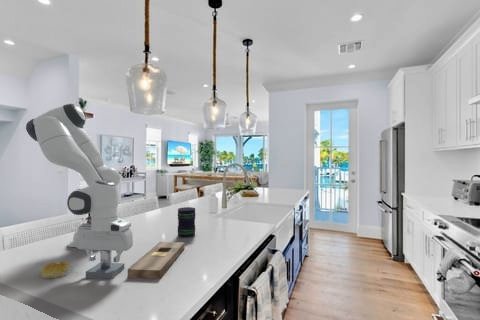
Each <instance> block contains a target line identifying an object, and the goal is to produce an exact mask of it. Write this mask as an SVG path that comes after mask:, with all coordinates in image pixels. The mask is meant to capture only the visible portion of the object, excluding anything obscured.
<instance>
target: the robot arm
mask: <svg viewBox="0 0 480 320" xmlns="http://www.w3.org/2000/svg"><path fill="white" fill-rule="evenodd" d="M85 124H86V116H85V114H84V112H83V110H82V109H81V108H80V107H79V106H78V105H76V104H73V103H67V104H64V105H62V106H59V107H56V108H53V109H50V110H47V112H44V113H42V114H41V115H38V116H37V117H36V118H35V117H34V118H32V119H30V120H28V122H27V123H26V125H25V130H26V133H27V134H28V135H29V136H30V138H31V139H32V140H34V141H35V142H38V145H39V147H40V150H41V152H42V154H43V155H44V157H45V158H46V159H47V161H49V162H50V163H51V164H54V165H56V166H60V167H64V168H67V169H71V170H73V171H74V172H77V173H78V174H80V176H81V177H82V178H83V180H84V182H85V183H86V184H87V186H85V187H84V188H80V189H76V190H74V191H72V192H70V194H69V195H68V197H67V201H66V204H67V208H68V210H69V212H70V213H72V214H73V215H76V216H84V215H88V214H89V215H88V216H87V217H84V221H86V223H85V222H84V223H82V224H80V225H78V228H77V230H76V231H75V232H74V234H73V237H72V240H71V241H69V242H68V243H67V245H66V246H67V247H70V248H71V247H72V248H77V249H78V250H85V253H86V255H87V256H88V261H89V262H95V261H96V259H97V255H96V254H94V252H93V251H101V250H111V251H116V252H115V254H116V256H114V257H113V259H112V260H113V261H112V263H120V261H121V259H120V258H121V255H122V254H123V252H127V251H128V250H131V248H132V247H133V245H134V244H133V242H134V241H133V240H134V239H133V238H134V237H133V232H132V230H131V229H130V228H131V227H132V222H130V221H129V220H125V219H123V218H121V217H119V213H118V206H119V188H118V186H119V183H120V181H121V173H120V172H119V171H118V170H117V169H116V168H114V167H112V166H107V165H106V164H105V161H104V159H103V157H102V154H101V151H100V150H99V148H98V147H97V145H96V144H95V142H94V141H93V139H92V138H91V136H90V135H89V134H88V133H87V132H86V131H85V129H84V126H85Z"/></svg>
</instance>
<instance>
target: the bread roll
mask: <svg viewBox="0 0 480 320" xmlns="http://www.w3.org/2000/svg"><path fill="white" fill-rule="evenodd" d="M71 271H72V266H71V264H70V263H68V262H65V261H63V262H62V261H60V262H59V263H57V262H51V263H49V264H46V265H45V266H44V267H42V268H41V271H40V277H41V278H43V279H55V278H62V277H63V276H66V275H68V274H69V273H70V272H71Z"/></svg>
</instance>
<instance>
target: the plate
mask: <svg viewBox="0 0 480 320" xmlns="http://www.w3.org/2000/svg"><path fill="white" fill-rule="evenodd" d="M125 266H126V265H125V263H124V262H123V263H121V262H111V268H109V269H105V270H102V269H100V262H99V263H97V264H95V265H93V266H92V267H91V268H90V269H88V270H86V271H85V278H89V279H90V278H91V279H94V278H95V279H113V278H115V277H116V276H117V275H119V274H120V273H121V272H122V271H123V270H125Z"/></svg>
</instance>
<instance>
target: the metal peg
mask: <svg viewBox="0 0 480 320" xmlns="http://www.w3.org/2000/svg"><path fill="white" fill-rule="evenodd" d="M99 263H100V269H102V270H105V269H109V268H111V263H112V250H100V261H99Z"/></svg>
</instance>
